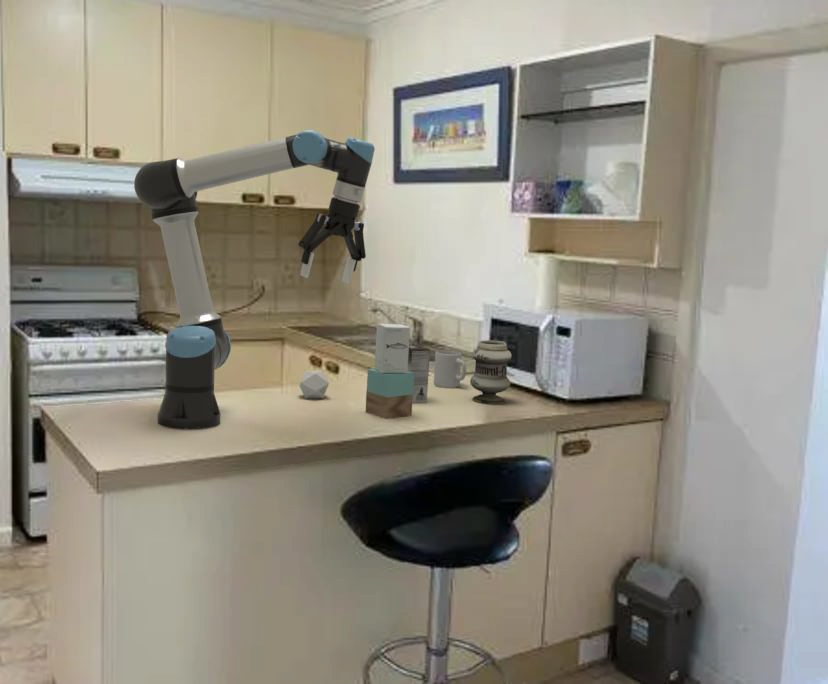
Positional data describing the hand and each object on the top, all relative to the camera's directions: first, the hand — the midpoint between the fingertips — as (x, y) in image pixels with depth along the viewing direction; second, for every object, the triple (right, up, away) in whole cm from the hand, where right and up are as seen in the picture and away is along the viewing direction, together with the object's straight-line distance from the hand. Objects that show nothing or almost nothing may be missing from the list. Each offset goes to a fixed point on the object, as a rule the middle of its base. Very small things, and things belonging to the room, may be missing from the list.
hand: (325, 279), depth 229 cm
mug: (+35, -31, +57) cm, 74 cm away
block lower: (+16, -36, +13) cm, 41 cm away
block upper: (+17, -30, +12) cm, 36 cm away
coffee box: (+23, -34, +33) cm, 52 cm away
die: (-6, -33, +29) cm, 44 cm away
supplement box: (+17, -24, +11) cm, 31 cm away
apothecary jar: (+46, -34, +38) cm, 69 cm away
